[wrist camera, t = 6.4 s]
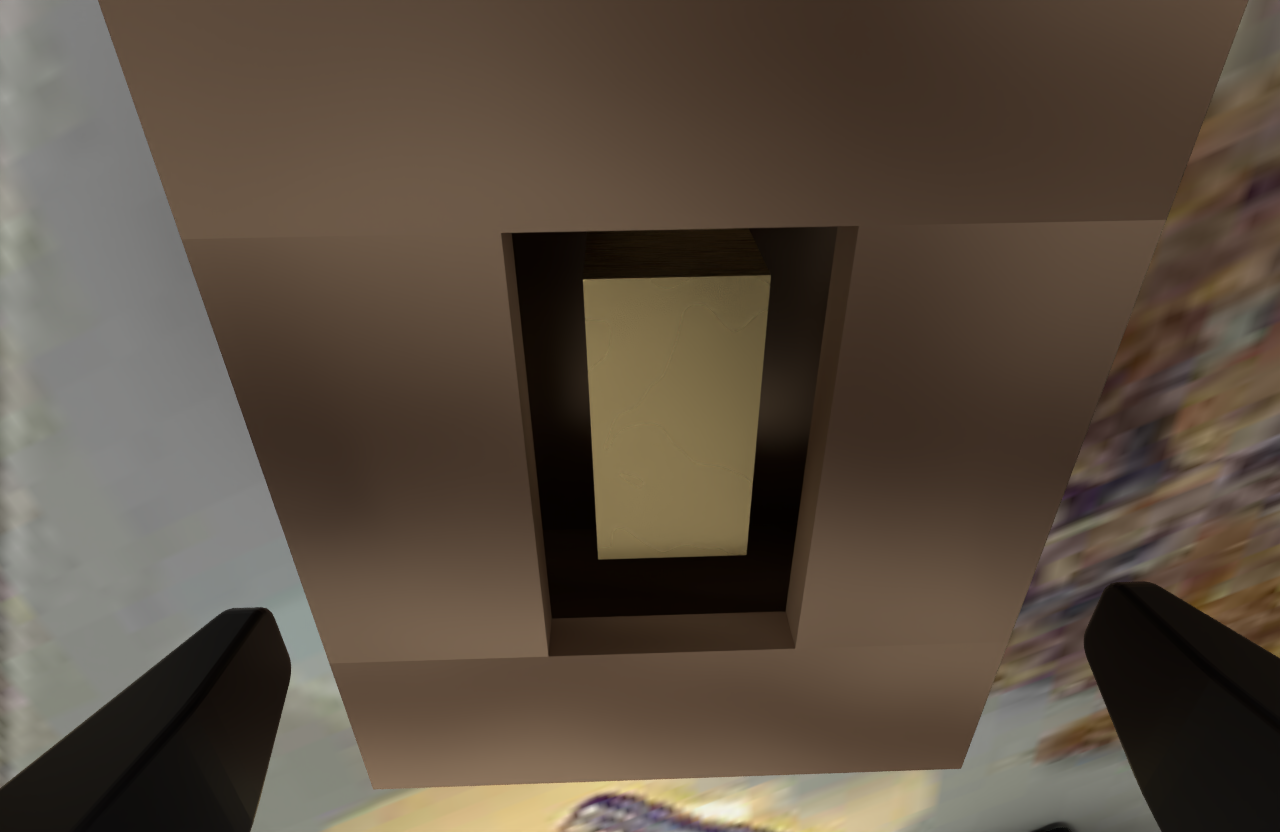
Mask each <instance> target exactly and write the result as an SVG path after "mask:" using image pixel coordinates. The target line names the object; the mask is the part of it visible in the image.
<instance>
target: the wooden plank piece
mask: <svg viewBox="0 0 1280 832" xmlns="http://www.w3.org/2000/svg"><path fill="white" fill-rule="evenodd" d="M770 281H771V274H770V272H769V270H768V268H767V266H766V264H765V262H764V260H763V257H762V255H761V253H760V251H759V249H758V247H757V245H756V243H755V241H754V239H753V236H752V234H751V232H750V230H749V228H729V229H678V230H626V231H587V237H586V249H585V260H584V272H583V292H584V310H585V328H586V346H587V364H588V382H589V401H590V419H591V437H592V455H593V473H594V491H595V509H596V528H597V546H598V559H631V558H664V557H697V556H731V555H746V553H747V542H748V531H749V519H750V508H751V497H752V485H753V474H754V463H755V451H756V440H757V428H758V417H759V406H760V394H761V383H762V372H763V360H764V349H765V338H766V326H767V315H768V304H769V292H770Z"/></svg>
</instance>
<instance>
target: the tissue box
mask: <svg viewBox="0 0 1280 832" xmlns="http://www.w3.org/2000/svg"><path fill="white" fill-rule="evenodd" d="M98 2H99V4H100V7H101V10H102V13H103V16H104V19H105V22H106V24H107V27H108V30H109V33H110V36H111V39H112V42H113V45H114V47H115V50H116V53H117V56H118V59H119V62H120V65H121V67H122V70H123V73H124V76H125V79H126V82H127V85H128V88H129V90H130V93H131V96H132V99H133V102H134V105H135V108H136V110H137V113H138V116H139V119H140V122H141V125H142V128H143V130H144V133H145V136H146V139H147V142H148V145H149V148H150V151H151V153H152V156H153V159H154V162H155V165H156V168H157V171H158V173H159V176H160V179H161V182H162V185H163V188H164V191H165V194H166V196H167V199H168V202H169V205H170V208H171V211H172V214H173V216H174V219H175V222H176V225H177V228H178V231H179V234H180V236H181V239H182V242H183V245H184V248H185V251H186V254H187V257H188V259H189V262H190V265H191V268H192V271H193V274H194V277H195V279H196V282H197V285H198V288H199V291H200V294H201V297H202V300H203V302H204V305H205V308H206V311H207V314H208V317H209V320H210V322H211V325H212V328H213V331H214V334H215V337H216V340H217V342H218V345H219V348H220V351H221V354H222V357H223V360H224V363H225V365H226V368H227V371H228V374H229V377H230V380H231V383H232V385H233V388H234V391H235V394H236V397H237V400H238V403H239V406H240V408H241V411H242V414H243V417H244V420H245V423H246V426H247V428H248V431H249V434H250V437H251V440H252V443H253V446H254V449H255V451H256V454H257V457H258V460H259V463H260V466H261V469H262V471H263V474H264V477H265V480H266V483H267V486H268V489H269V491H270V494H271V497H272V500H273V503H274V506H275V509H276V512H277V514H278V517H279V520H280V523H281V526H282V529H283V532H284V534H285V537H286V540H287V543H288V546H289V549H290V552H291V555H292V557H293V560H294V563H295V566H296V569H297V572H298V575H299V577H300V580H301V583H302V586H303V589H304V592H305V595H306V597H307V600H308V603H309V606H310V609H311V612H312V615H313V618H314V620H315V623H316V626H317V629H318V632H319V635H320V638H321V640H322V643H323V646H324V649H325V652H326V655H327V658H328V661H329V663H330V666H331V669H332V672H333V675H334V678H335V681H336V683H337V686H338V689H339V692H340V695H341V698H342V701H343V703H344V706H345V709H346V712H347V715H348V718H349V721H350V724H351V726H352V729H353V732H354V735H355V738H356V741H357V744H358V746H359V749H360V752H361V755H362V758H363V761H364V764H365V767H366V769H367V772H368V775H369V778H370V781H371V784H372V787H373V789H396V788H425V787H453V786H481V785H510V784H538V783H566V782H595V781H623V780H651V779H679V778H708V777H736V776H764V775H793V774H821V773H849V772H877V771H906V770H934V769H961V767H962V765H963V762H964V759H965V757H966V754H967V751H968V749H969V746H970V743H971V741H972V738H973V735H974V733H975V730H976V727H977V725H978V722H979V719H980V717H981V714H982V711H983V709H984V706H985V703H986V701H987V698H988V695H989V693H990V690H991V687H992V685H993V682H994V679H995V677H996V674H997V671H998V669H999V666H1000V663H1001V660H1002V658H1003V655H1004V652H1005V650H1006V647H1007V644H1008V642H1009V639H1010V636H1011V634H1012V631H1013V628H1014V626H1015V623H1016V620H1017V618H1018V615H1019V612H1020V610H1021V607H1022V604H1023V602H1024V599H1025V596H1026V594H1027V591H1028V588H1029V586H1030V583H1031V580H1032V578H1033V575H1034V572H1035V570H1036V567H1037V564H1038V562H1039V559H1040V556H1041V554H1042V551H1043V548H1044V546H1045V543H1046V540H1047V538H1048V535H1049V532H1050V530H1051V527H1052V524H1053V522H1054V519H1055V516H1056V514H1057V511H1058V508H1059V505H1060V503H1061V500H1062V497H1063V495H1064V492H1065V489H1066V487H1067V484H1068V481H1069V479H1070V476H1071V473H1072V471H1073V468H1074V465H1075V463H1076V460H1077V457H1078V455H1079V452H1080V449H1081V447H1082V444H1083V441H1084V439H1085V436H1086V433H1087V431H1088V428H1089V425H1090V423H1091V420H1092V417H1093V415H1094V412H1095V409H1096V407H1097V404H1098V401H1099V399H1100V396H1101V393H1102V391H1103V388H1104V385H1105V383H1106V380H1107V377H1108V375H1109V372H1110V369H1111V367H1112V364H1113V361H1114V358H1115V356H1116V353H1117V350H1118V348H1119V345H1120V342H1121V340H1122V337H1123V334H1124V332H1125V329H1126V326H1127V324H1128V321H1129V318H1130V316H1131V313H1132V310H1133V308H1134V305H1135V302H1136V300H1137V297H1138V294H1139V292H1140V289H1141V286H1142V284H1143V281H1144V278H1145V276H1146V273H1147V270H1148V268H1149V265H1150V262H1151V260H1152V257H1153V254H1154V252H1155V249H1156V246H1157V244H1158V241H1159V238H1160V236H1161V233H1162V230H1163V228H1164V225H1165V222H1166V220H1167V217H1168V214H1169V212H1170V209H1171V206H1172V203H1173V201H1174V198H1175V195H1176V193H1177V190H1178V187H1179V185H1180V182H1181V179H1182V177H1183V174H1184V171H1185V169H1186V166H1187V163H1188V161H1189V158H1190V155H1191V153H1192V150H1193V147H1194V145H1195V142H1196V139H1197V137H1198V134H1199V131H1200V129H1201V126H1202V123H1203V121H1204V118H1205V115H1206V113H1207V110H1208V107H1209V105H1210V102H1211V99H1212V97H1213V94H1214V91H1215V89H1216V86H1217V83H1218V81H1219V78H1220V75H1221V73H1222V70H1223V67H1224V65H1225V62H1226V59H1227V57H1228V54H1229V51H1230V48H1231V46H1232V43H1233V40H1234V38H1235V35H1236V32H1237V30H1238V27H1239V24H1240V22H1241V19H1242V16H1243V14H1244V11H1245V8H1246V6H1247V3H1248V0H98ZM729 228H749V230H750V232H751V234H752V236H753V239H754V241H755V243H756V245H757V247H758V249H759V251H760V253H761V255H762V257H763V260H764V262H765V264H766V266H767V268H768V270H769V272H770V274H771V281H770V292H769V304H768V315H767V326H766V338H765V349H764V360H763V372H762V383H761V394H760V406H759V417H758V428H757V440H756V451H755V463H754V474H753V485H752V497H751V508H750V519H749V531H748V542H747V553H746V555H731V556H697V557H664V558H631V559H598V546H597V528H596V509H595V491H594V473H593V455H592V437H591V419H590V401H589V382H588V364H587V346H586V328H585V310H584V292H583V272H584V260H585V249H586V237H587V231H626V230H678V229H729Z"/></svg>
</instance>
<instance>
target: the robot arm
mask: <svg viewBox="0 0 1280 832" xmlns="http://www.w3.org/2000/svg"><path fill="white" fill-rule="evenodd" d="M1084 649H1085V654H1086V657H1087V660H1088V662H1089V665H1090V667H1091V670H1092V672H1093V675H1094V677H1095V680H1096V682H1097V685H1098V687H1099V690H1100V692H1101V695H1102V697H1103V699H1104V702H1105V704H1106V707H1107V709H1108V712H1109V714H1110V717H1111V719H1112V722H1113V724H1114V727H1115V729H1116V732H1117V734H1118V737H1119V739H1120V742H1121V744H1122V747H1123V749H1124V752H1125V754H1126V757H1127V759H1128V762H1129V764H1130V766H1131V769H1132V771H1133V773H1134V776H1135V778H1136V780H1137V783H1138V785H1139V787H1140V789H1141V792H1142V794H1143V796H1144V798H1145V800H1146V802H1147V804H1148V806H1149V808H1150V810H1151V812H1152V814H1153V816H1154V818H1155V820H1156V822H1157V824H1158V826H1159V828H1160V830H1161V831H1162V832H1280V658H1278V657H1277V656H1275V655H1273V654H1272V653H1270V652H1268V651H1267V650H1265V649H1263V648H1262V647H1260V646H1258V645H1257V644H1255V643H1253V642H1252V641H1250V640H1248V639H1247V638H1245V637H1243V636H1242V635H1240V634H1238V633H1237V632H1235V631H1233V630H1232V629H1230V628H1228V627H1227V626H1225V625H1223V624H1222V623H1220V622H1218V621H1217V620H1215V619H1213V618H1211V617H1210V616H1208V615H1206V614H1205V613H1203V612H1201V611H1200V610H1198V609H1196V608H1195V607H1193V606H1191V605H1190V604H1188V603H1186V602H1185V601H1183V600H1181V599H1180V598H1178V597H1176V596H1175V595H1173V594H1171V593H1170V592H1168V591H1166V590H1165V589H1163V588H1161V587H1159V586H1158V585H1156V584H1153V583H1150V582H1116V583H1112V584H1110V585H1109V586H1107V587H1106V588H1105V590H1104V591H1103V593H1102V595H1101V597H1100V600H1099V602H1098V604H1097V606H1096V609H1095V611H1094V613H1093V615H1092V618H1091V620H1090V622H1089V624H1088V626H1087V629H1086V631H1085V634H1084ZM290 676H291V662H290V657H289V654H288V652H287V649H286V646H285V644H284V641H283V639H282V636H281V633H280V631H279V628H278V626H277V623H276V621H275V618H274V616H273V614H272V613H271V612H270V611H269V610H268V609H267V608H262V607H256V608H232V609H228V610H226V611H224V612H222V613H221V614H219V615H218V616H216V617H215V618H214V619H213V620H211V621H210V622H209V623H208V624H206V625H205V626H204V627H203V628H201V629H200V630H199V631H198V632H196V633H195V634H194V635H192V636H191V637H190V638H189V639H187V640H186V641H185V642H184V643H182V644H181V645H180V646H179V647H177V648H176V649H175V650H174V651H172V652H171V653H170V654H169V655H167V656H166V657H165V658H164V659H162V660H161V661H160V662H158V663H157V664H156V665H155V666H153V667H152V668H151V669H150V670H148V671H147V672H146V673H145V674H143V675H142V676H141V677H140V678H138V679H137V680H136V681H135V682H133V683H132V684H131V685H130V686H128V687H127V688H126V689H124V690H123V691H122V692H121V693H119V694H118V695H117V696H116V697H114V698H113V699H112V700H111V701H109V702H108V703H107V704H106V705H104V706H103V707H102V708H101V709H99V710H98V711H97V712H96V713H94V714H93V715H92V716H91V717H89V718H88V719H87V720H85V721H84V722H83V723H82V724H80V725H79V726H78V727H77V728H75V729H74V730H73V731H72V732H70V733H69V734H68V735H67V736H65V737H64V738H63V739H62V740H60V741H59V742H58V743H57V744H55V745H54V746H53V747H51V748H50V749H49V750H48V751H46V752H45V753H44V754H43V755H41V756H40V757H39V758H38V759H36V760H35V761H34V762H33V763H31V764H30V765H29V766H28V767H26V768H25V769H24V770H23V771H21V772H20V773H19V774H17V775H16V776H15V777H14V778H12V779H11V780H10V781H9V782H7V783H6V784H5V785H4V786H2V787H1V788H0V832H250V831H251V828H252V825H253V822H254V818H255V815H256V811H257V808H258V804H259V801H260V797H261V793H262V789H263V785H264V781H265V777H266V773H267V769H268V765H269V761H270V757H271V753H272V749H273V745H274V741H275V738H276V734H277V730H278V726H279V722H280V718H281V714H282V710H283V706H284V702H285V698H286V694H287V690H288V686H289V682H290ZM1047 832H1072V831H1071V830H1070V829H1068V828H1063V827H1062V828H1055V829H1052V830H1050V831H1047Z"/></svg>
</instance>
